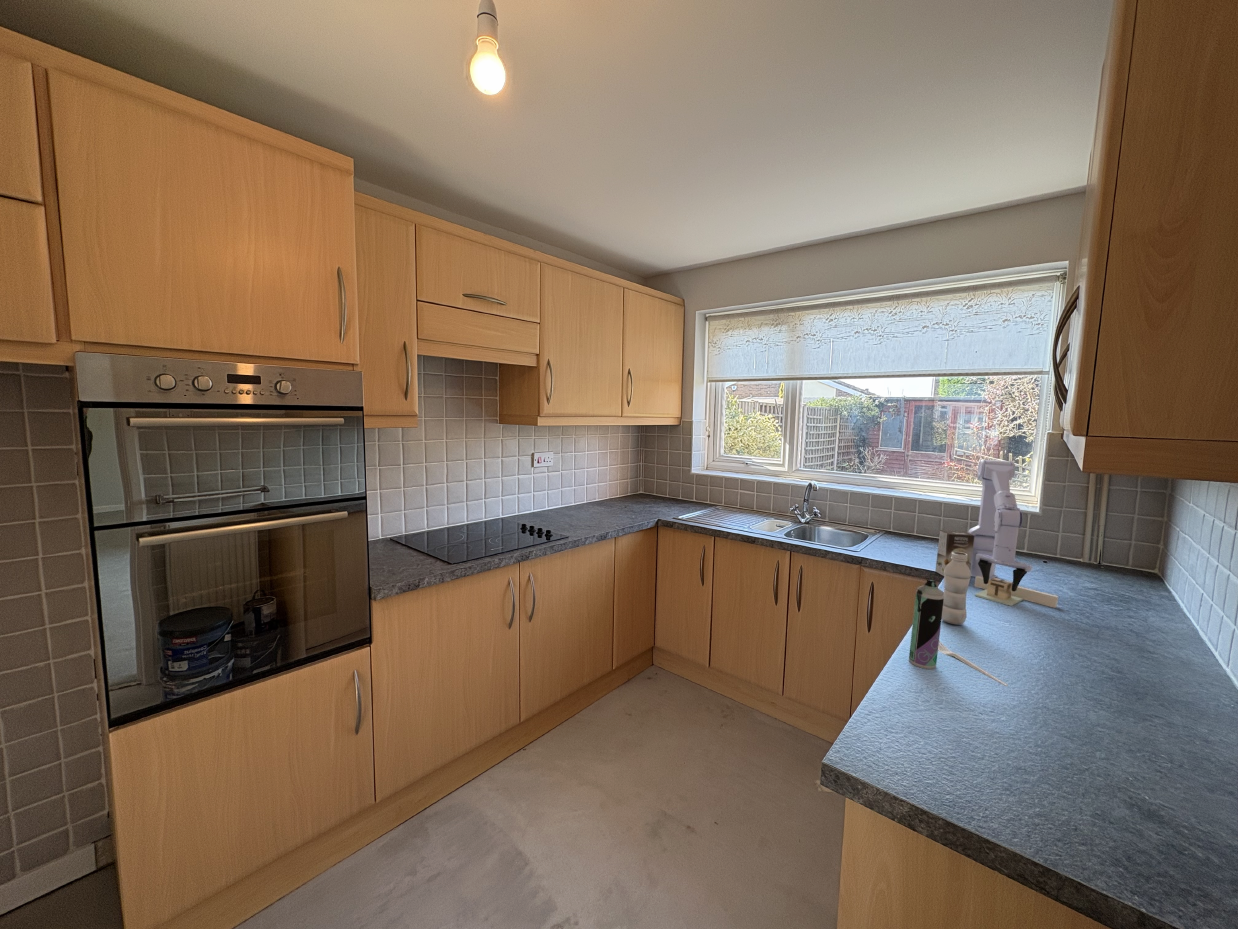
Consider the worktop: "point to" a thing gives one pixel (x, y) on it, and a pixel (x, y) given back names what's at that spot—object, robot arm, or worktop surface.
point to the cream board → (1025, 594)
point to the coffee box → (953, 548)
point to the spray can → (926, 625)
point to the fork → (965, 661)
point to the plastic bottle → (956, 589)
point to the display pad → (1009, 601)
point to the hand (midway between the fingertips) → (999, 587)
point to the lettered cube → (999, 588)
